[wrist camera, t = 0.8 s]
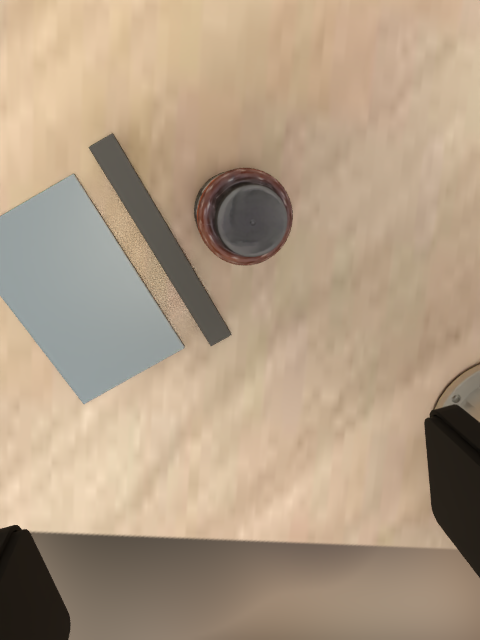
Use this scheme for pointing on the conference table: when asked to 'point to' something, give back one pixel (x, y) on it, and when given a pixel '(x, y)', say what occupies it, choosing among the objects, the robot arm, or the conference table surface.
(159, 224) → the bar
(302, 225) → the conference table surface
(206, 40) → the conference table surface
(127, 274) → the pad
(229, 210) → the supplement bottle
